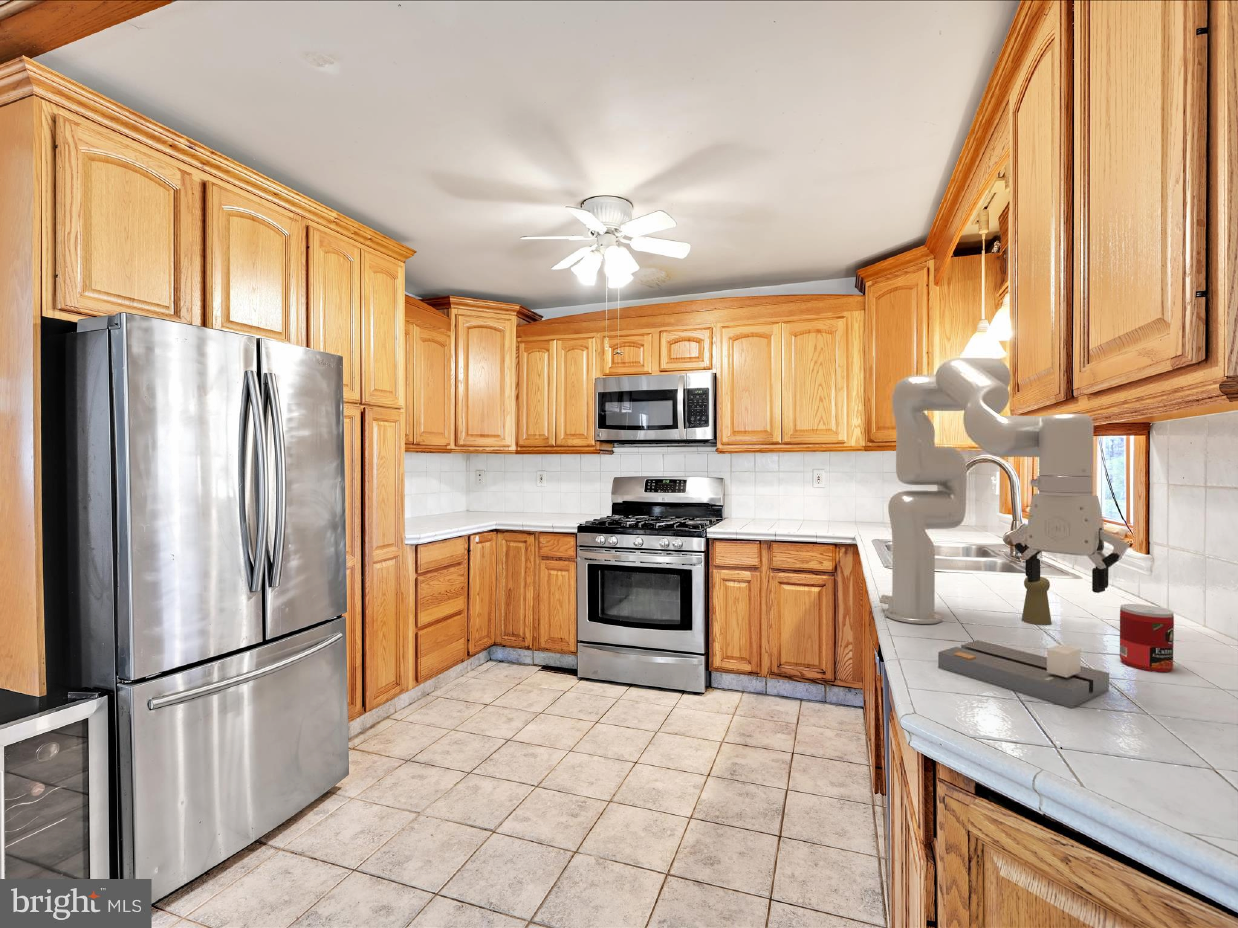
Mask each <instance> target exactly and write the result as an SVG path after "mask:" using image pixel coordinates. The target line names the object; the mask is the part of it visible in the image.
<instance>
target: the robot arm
mask: <svg viewBox="0 0 1238 928" xmlns="http://www.w3.org/2000/svg"><path fill="white" fill-rule="evenodd" d="M1011 379H1012V377H1011V371H1010V368H1009V367H1008V366H1007V364H1005V362H1003V361H1002V360H1000V359H997V358H991V357H990V358H989V357H987V358H986V357H957V358H956V357H955V358H951V359H949V360H947V361H944V362H943V363H942V364H941V365H939V366H938V368H937V369H936V371H935V374H916V375H910V376H905V377H904V378H902V379H900V380H899V381H898V382H897V383H896V385H895V386H894V388H893V390H892V391H893V392H892V396H891V409H892V413H893V414H892V415H893V418H894V422H895V426H896V429H895V430H896V437H895V438H896V442H895V443H896V444H895V445H896V446H895V472H896V477H897V479H898V481H899V482H901V483H902V484H905V485H911V486H936V487H937V488H936V489H937V490H924V489H923V490H917V489H916V490H904V491H903V490H902V491H900V492H897V493H895V494H893V496H891V497H890V499H889V501H888V505H887V507H888V508H887V509H888V517H889V521H890V529H891V537H892V538H891V540H892V545H891V546H892V551H891V553H892V560H891V561H892V564H891V565H892V566H891V568H892V569H891V570H892V571H891V574H892V575H891V576H892V577H891V578H892V580H891V583H892V585H891V586H892V587H891V588H892V590H891V592H892V593H891V596H890V595H886V594H882V595H881V596H880V598H879V603H880V604H883V605H887V606H888V607H887V608H886V609H885V611H884V612H885V616H886V617H887V618H889V619H891V620H894V621H898V622H902V623H907V624H908V623H909V624H916V625H933V624H938V623H941V622H942V615H941V614H940V613H938V612H937V611H935V610H936V608H935V605H936V603H935V602H936V600H935V598H936V595H935V594H936V593H935V592H936V590H935V588H936V587H935V586H936V585H935V584H936V582H935V581H936V577H935V576H936V575H935V574H936V550H935V545H934V542H933V541H932V539H931V538H930V536H929V534H928V532H927V531H926V530H943V529H945V530H947V529H948V530H950V529H955V528H958V527H959V526H961V525H962V523H963V522H964V519H965V517H966V508H967V481H968V480H967V476H968V470H967V462H966V459H965V457H964V455H963V453H962V452H961V451H960V450H958V449H957V448H955V447H951V446H936V445H935V436H936V435H935V433H936V431H935V427H934V423H933V422H932V421H931V419H930V417H929V416H928V415H927V414H926V413H925V412H926V411H932V412H933V411H934V412H962V411H964V412H963V417H962V418H963V421H962V422H963V426H964V430H965V433H966V435H967V436H968V438H969V439H970V440H971V441H972V442H973V443H974V444H975V445H976V446H978V447H979V448H980V449H981V450H982V451H983V452H985V453H986V454H989V455H991V456H994V457H998V458H1038V476H1037V477H1036V478H1031V479H1030V481H1029V482H1030V486H1031V487H1035V488H1037V491H1038V493H1033V494H1032V497H1031V501H1030V506H1029V512H1028V517H1027V526H1024V527H1022V528H1018V529H1017V530H1014V531H1011V532H1010V533H1009V534H1008V535H1009V538H1010V540H1011V542H1012V543H1013V544H1014V548H1015V550H1017V552H1019V554H1020V555H1022V556H1021V557H1022V559H1024V560H1025V563H1024V564H1025V565H1024V567H1025V568H1024V569H1025V572H1024V573H1025V576H1026V577H1028V579H1027V580H1028V582H1030V583H1033V582H1037V581H1040V577H1041V559H1040V558H1038V556H1040V554H1041V553H1044V552H1046V553H1053V554H1062V555H1072V556H1080V557H1083V556H1085V557H1088V559H1089V560H1090V561H1091V562H1092V563H1093V564H1094V565H1095V567H1094V568H1092V570H1091V574H1092V575H1091V580H1092V581H1091V591H1092V592H1093V593H1094V594H1095V593H1096V594H1099V593H1103V592H1105V591H1106V589H1107V588H1108V587H1109V570H1110V569H1109V568H1111V567H1112V566H1113V565H1114V564H1116V563H1117V562H1119V561H1120V560H1121V559H1122V557H1123V556H1124V555H1125V553H1127V551H1128V549H1129V548H1130V543H1128V542H1127V541H1125V540H1123V539H1121V538H1119V537H1117V536H1115V535H1114V534H1111V533H1109V532H1108V531H1105V529H1104V527H1105V526H1104V518H1103V512H1102V508H1101V502H1100V500H1099V496H1098V495H1094V420H1093V418H1092V417H1091V416H1090V415H1088V414H1085V413H1060V414H1059V413H1058V414H1049V415H1045V416H1044V415H1042V416H1040V415H1037V416H1036V415H1002V414H1001V413H1002V412H1003V411H1004V410H1005V409H1006V408H1007V406H1008V404H1009V401H1010V395H1011V394H1010V390H1009V386H1010V384H1011ZM1025 536H1026V543H1025V542H1024V539H1023V537H1025ZM1105 543H1107V544H1109V545H1111V546H1112V547H1113V550H1112V551H1111V553H1110V554H1108V555H1106V554H1105V553H1104V548H1105Z"/></svg>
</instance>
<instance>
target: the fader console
mask: <svg viewBox="0 0 1238 928" xmlns="http://www.w3.org/2000/svg"><path fill="white" fill-rule="evenodd" d="M937 657H938V659H937V665H938V666H937V668H938V669H941V668H942V669H941V670H944V671H948V672H951V673H955V674H958V675H960V676H961V675H962V676H964V677H967V678H971V679H974V680H977V681H981V682H984V683H987V684H991V685H994V686H996V687H1001V688H1004V689H1007V690H1010V691H1014V692H1017V693H1019V694H1023V695H1025V696H1026V695H1027V696H1031V697H1033V698H1037V699H1039V700H1042V701H1043V700H1044V701H1047V702H1050V703H1053V704H1056V705H1060V706H1062V707H1065V708H1069V709H1073V708H1075V707H1077V706H1079V705H1082V704H1084V703H1086V702H1088V701H1090V700H1092V699H1094V698H1095V697H1096V698H1097V697H1098V696H1100V695H1102V694H1105V693H1107V692H1108V691H1110V672H1106V671H1102V670H1100V669H1099V670H1098V669H1094V668H1091V667H1087V666H1082V665H1080V672H1079V673H1077V674H1074V675H1072V676H1070V677H1063V676H1059V675H1055V674H1052V673H1048V672H1047V656H1043V655H1038V654H1034V653H1030V652H1027V651H1022V650H1020V649H1019V650H1018V649H1016V648H1015V649H1014V648H1011V647H1008V646H1007V647H1006V646H1002V645H999V644H995V643H991V642H986V641H982V640H978V639H977V640H974V641H971V642H968V643H967V642H966V643H964V644H961V645H960V647H959V646H953V647H951V648H948V649H944V650H940V651H938V655H937Z"/></svg>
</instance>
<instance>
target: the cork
mask: <svg viewBox="0 0 1238 928" xmlns="http://www.w3.org/2000/svg"><path fill="white" fill-rule="evenodd" d="M1027 579H1028V577H1027V576H1026V577H1025V578H1024V581H1023V586H1024V588H1025V589H1026V592H1025V598H1024V602H1023V603H1024V605H1023V609H1022V616H1021V621H1022V622H1023V621H1024V623H1026V624H1031V625H1038V626H1051V625H1052V616H1051V611H1050V610H1051V609H1050V603H1049V596H1048V591H1049V590H1050V587H1051V583H1050V580H1049V579H1047V578H1046V577H1043V576H1040V581H1037V582H1033V583H1030V582H1028V580H1027Z"/></svg>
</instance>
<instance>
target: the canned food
mask: <svg viewBox="0 0 1238 928" xmlns="http://www.w3.org/2000/svg"><path fill="white" fill-rule="evenodd" d="M1174 621H1175V616H1174V611H1172V610H1170V609H1167V608H1164V607H1160V606H1156V605H1155V606H1154V605H1148V604H1140V603H1125V604H1124V603H1123V604H1121V605H1120V607H1119V659H1120V662H1121V663H1122V664H1124V665H1126V666H1128V667H1131V668H1133V669H1138V670H1142V671H1146V672H1152V671H1156V672H1155V673H1167V672H1166V671H1169V672H1171V671H1172V669H1173V667H1174V644H1175V643H1174V641H1175V640H1174V636H1175V635H1174V633H1175V631H1174V630H1175V629H1174V628H1175V622H1174Z"/></svg>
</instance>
